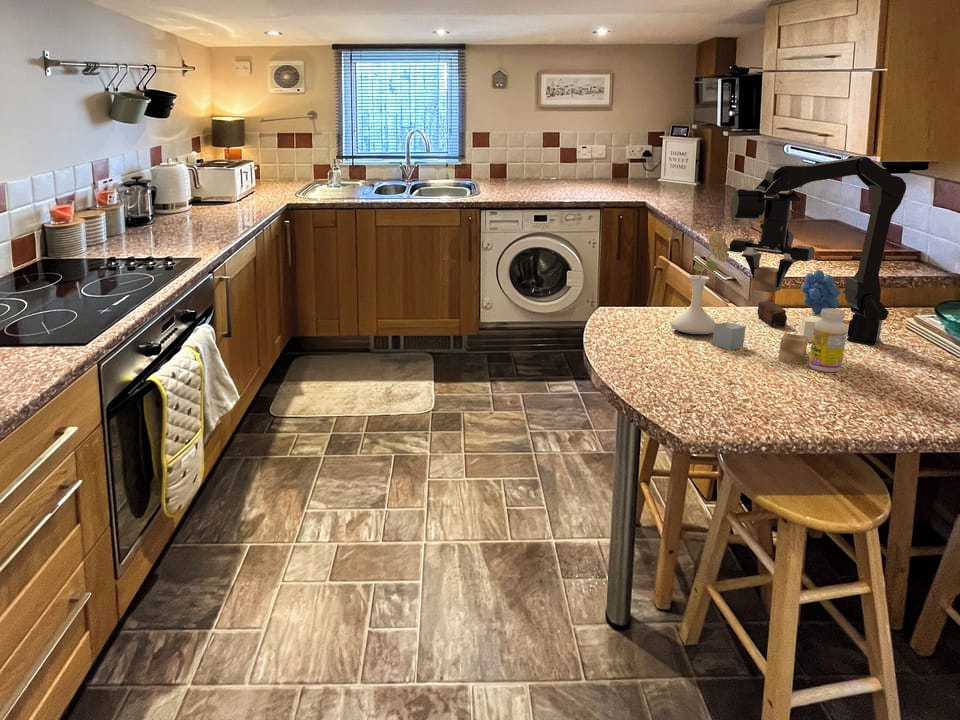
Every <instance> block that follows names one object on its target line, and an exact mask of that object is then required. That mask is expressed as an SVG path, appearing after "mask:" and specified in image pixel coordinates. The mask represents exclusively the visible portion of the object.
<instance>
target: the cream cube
mask: <svg viewBox="0 0 960 720" xmlns="http://www.w3.org/2000/svg"><path fill="white" fill-rule="evenodd" d="M821 318H822V317H810V316H802V320H801V325H800V331H799V332H800V334H799V335H801V336H808V342H807V343H812V338H813V331H814V325H815V323H816V322H817V321H819V320H821Z"/></svg>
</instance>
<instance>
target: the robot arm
mask: <svg viewBox="0 0 960 720" xmlns="http://www.w3.org/2000/svg"><path fill="white" fill-rule="evenodd" d="M764 175H765V176H764V177H763V179H762V180H761V181H760V182H759V183H758V184H757V186H756V187H755V188H754V189H743V188H735V193H734V194H733V196H732V198H731V201H730V204H729V211H730V216H731V218H732V219H745V220H757V219H759V217H762V223H760V225H759V229H760V231H761V232H760V236H759V237H760V238H759V241H758V243H755V241H754V239H753V238H752V239H750V238H743V237H739V238H735V239H732V240H731V241H730V243H729V246H728V248H729V252H730V253H731V252H732V253H739V254H741V257H743V258H745V261H746V262H747V263H746V264H747V265H748V268H749V271H750V273H751V276H752V280H754V272H755V269H756V268H759V267H760V263H761V262H760V261H761V257H762V255H763V254H762V253H767V254H773V255H780V256H783V258H781V259H779V262H778V263H779V264H778V276H777V287H780V285H781V286H782V283H783V281H784V278H785V277H786V275H787V273H788V271H789V270H790V268H791V266H792V265H793V264H794V263H797V262H799V261H800V262H809V261H812V260H814V259H815V255H816V249H815V248H814V246H810V245H809V246H808V245H799V244H798V245H795V246H793V242H794V238H795V235H794V234H793V233H792V231H790V224H789V220H790V212H791V211H790V210H791V202H801V199H802V198H801V197H799V195H797V193H796V190H795V189H798V188H800V187H803V186H805V185H806V184H807V185H808V184H809V183H812V182H818V181H825V180H831V179H832V180H833V179H837V178H844V177H850V176H857V178H858V179H859V180H860V181H861V182H862V183H863V184H864V185H865V186H866V187H867V188H868V197H867V201H868V205H869V211H870V214H869V219H868V223H867V227H866V232H865V238H864V241H863V246H862V252H861V255H860V260H859V263H858V268H857V272H856V273H855V274H854V275H853V277H850V276H848V277H846V280H845V281H846V282H845V287H844V291H842V293H843V295H844V296H845V297H844V299H845V301H846V302H847V305H849V308H850V312H851V313H854V314H852V317H851V318H852V319H849V322H848V326H847V335H846V341H849V342H855V343H856V342H857V343H861V344H867V345H872V346H875V345H876V344H878V343H879V342H881V340H882V338H881V337H880V336H881V332H882V325H883V321H886V319H887V318H888V316H889V314H890V313H889V310H888V309H887V308H886V306H884V304H883V303H882V302H881V299H882V286H881V281H880V271H881V267H882V261H883V257H884V254H885V248H886V245H887V244H886V243H887V239H888V236H889V230H890V227H891V223H892V217H893V216H894V213H895V212H896V210H897V209H898V208H899V207H900V205H901V204H902V201H903V198H904V196H905V194H906V191H907V183H906V182H905V180H904V178H902V177H901V176H898V175H894V174H892V173H890V172H889V171H887V170H886V169H885V168H883V167H881V166H880V165H878V164H876V162H874V161H873V160H872V159H871V158H870V157H869V156H863V155H856V156H854V157H849V158H843V159H837V160H830V161H824V162H817V163H816V162H815V163H812V164H789V163H788V164H786V163H785V164H784V163H782V164H781V163H779V164H778V163H777V164H773V165H770V166H769V168H767V170H766V173H765V174H764Z"/></svg>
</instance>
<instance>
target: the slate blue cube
mask: <svg viewBox="0 0 960 720" xmlns="http://www.w3.org/2000/svg"><path fill="white" fill-rule="evenodd" d="M712 333H713V335H712V344H711V345H712V346H715V347H718V348H721V349H725V350H728V351H729V350H730V351H731V350H736V349H741V348H744V342H745V335H746V334H745V333H746V326H745V325H742V324H738V323H734V322H729V321H726V322H720V323H716V324H714V332H712Z"/></svg>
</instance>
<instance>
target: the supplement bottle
mask: <svg viewBox="0 0 960 720" xmlns="http://www.w3.org/2000/svg"><path fill="white" fill-rule="evenodd" d="M845 314H846V311H844V310H842V309H839V308H836V309H833V308H825V309H822V310H821V313H820V315H821V316H820V318H821V320H819V321H817V322H816V323H815V325H814V331H813V338H812V342H811V345H810V346H811V347H810V352H809V356H808V357H809V360H808V366H809V367H810V368H811V369H812V370H815V371H819V372H825V373H836V372H839V371H840V370H841V369H842V366H843V365H842V364H843V360H844V359H843V358H844V355H845V354H844V353H845V346H846V341H847V333H848V326H847V324H846V323H844V319H845V316H846V315H845Z"/></svg>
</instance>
